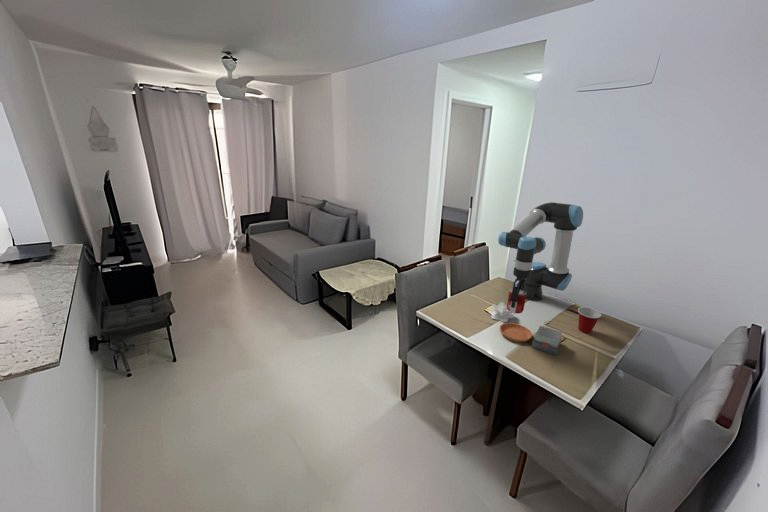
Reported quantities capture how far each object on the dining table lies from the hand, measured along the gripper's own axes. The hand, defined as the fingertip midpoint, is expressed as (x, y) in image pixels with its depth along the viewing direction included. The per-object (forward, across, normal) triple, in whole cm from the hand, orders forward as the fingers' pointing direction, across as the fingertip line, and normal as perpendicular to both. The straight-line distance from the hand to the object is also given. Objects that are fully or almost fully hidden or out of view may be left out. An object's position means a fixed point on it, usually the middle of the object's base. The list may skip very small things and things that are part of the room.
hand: (514, 309), depth 156 cm
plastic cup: (+15, -32, +30) cm, 46 cm away
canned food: (0, 0, 0) cm, 0 cm away
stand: (+15, -2, +17) cm, 23 cm away
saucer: (+15, -1, +2) cm, 16 cm away
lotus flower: (+15, -16, -11) cm, 25 cm away
